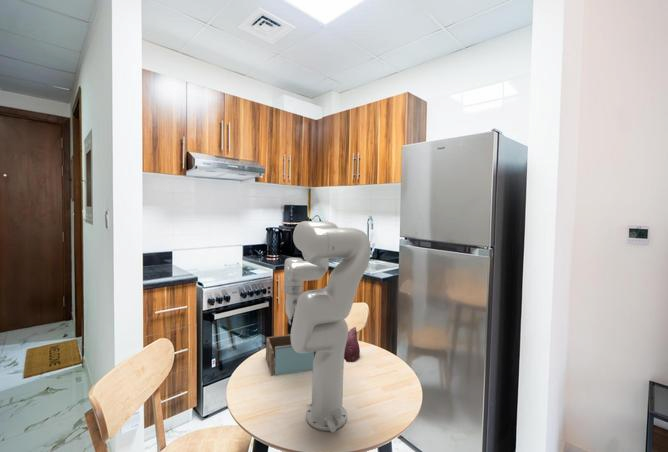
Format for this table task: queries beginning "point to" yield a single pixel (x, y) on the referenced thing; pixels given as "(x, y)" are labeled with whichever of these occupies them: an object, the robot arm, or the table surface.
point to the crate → (270, 349)
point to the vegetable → (352, 347)
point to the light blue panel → (291, 360)
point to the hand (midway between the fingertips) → (291, 333)
